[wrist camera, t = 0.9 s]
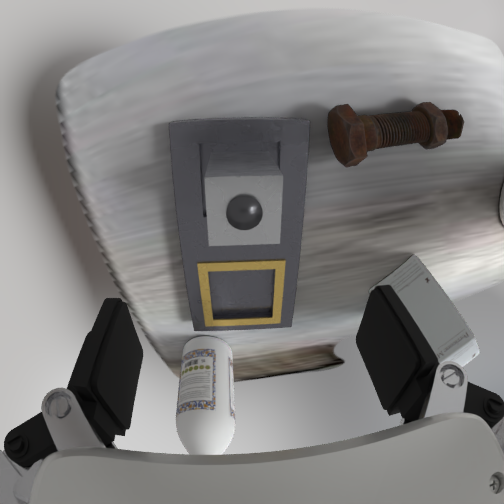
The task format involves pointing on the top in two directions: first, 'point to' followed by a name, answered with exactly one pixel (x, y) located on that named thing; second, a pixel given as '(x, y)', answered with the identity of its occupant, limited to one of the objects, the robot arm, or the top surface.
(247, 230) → the brushed steel block
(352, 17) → the top surface
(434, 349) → the skincare box
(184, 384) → the bath foam
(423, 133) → the bolt
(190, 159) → the grey slotted board
